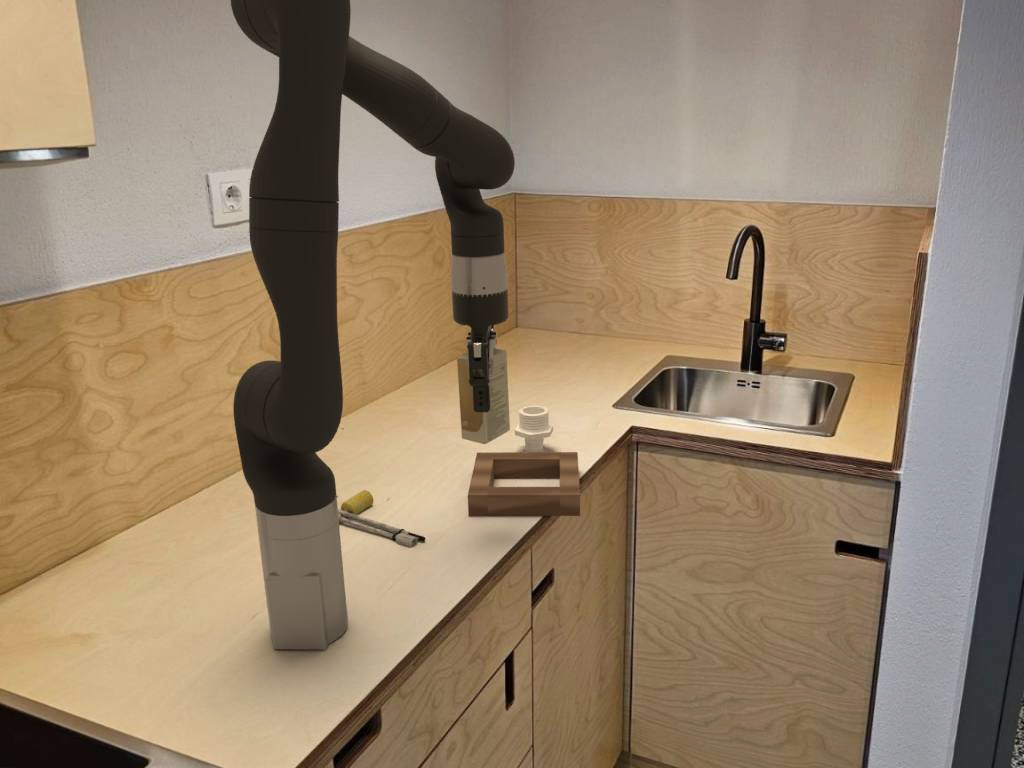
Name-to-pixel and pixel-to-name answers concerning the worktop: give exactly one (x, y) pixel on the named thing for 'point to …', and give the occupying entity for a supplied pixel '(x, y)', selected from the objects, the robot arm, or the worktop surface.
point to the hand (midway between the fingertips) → (484, 401)
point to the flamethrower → (363, 502)
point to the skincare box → (497, 419)
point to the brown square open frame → (524, 498)
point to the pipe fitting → (534, 427)
